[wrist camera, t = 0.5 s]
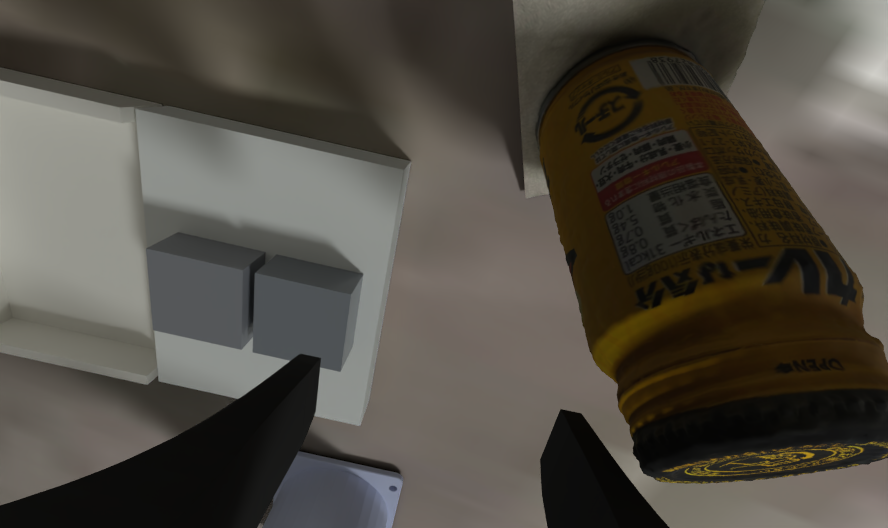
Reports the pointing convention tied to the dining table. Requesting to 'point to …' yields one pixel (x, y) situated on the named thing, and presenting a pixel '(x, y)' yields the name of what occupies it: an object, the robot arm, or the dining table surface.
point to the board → (272, 233)
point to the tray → (73, 229)
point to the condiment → (693, 245)
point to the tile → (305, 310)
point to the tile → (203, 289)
